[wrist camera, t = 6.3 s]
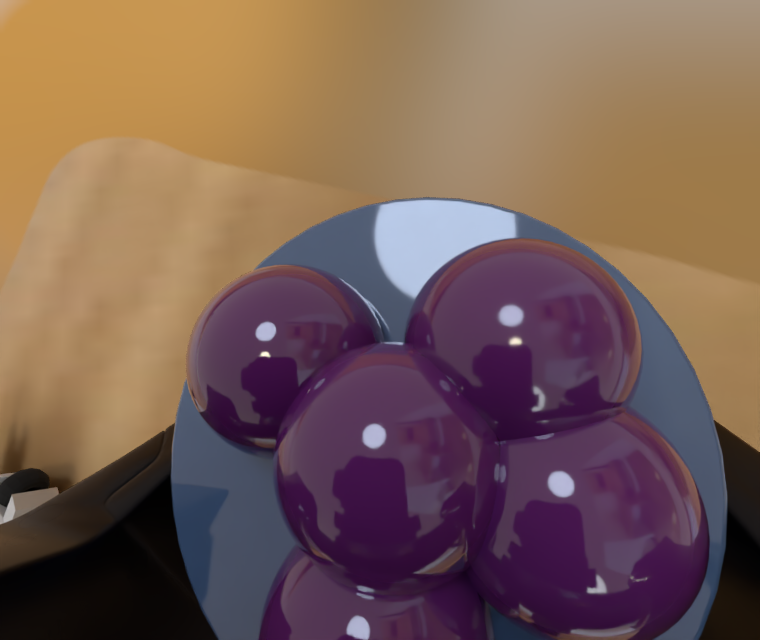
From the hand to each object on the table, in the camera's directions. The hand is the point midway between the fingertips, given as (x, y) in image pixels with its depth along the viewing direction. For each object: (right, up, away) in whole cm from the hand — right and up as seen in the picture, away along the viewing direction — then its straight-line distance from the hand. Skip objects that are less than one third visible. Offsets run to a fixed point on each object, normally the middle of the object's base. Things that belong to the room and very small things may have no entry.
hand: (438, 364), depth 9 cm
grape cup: (+2, -3, +6) cm, 7 cm away
